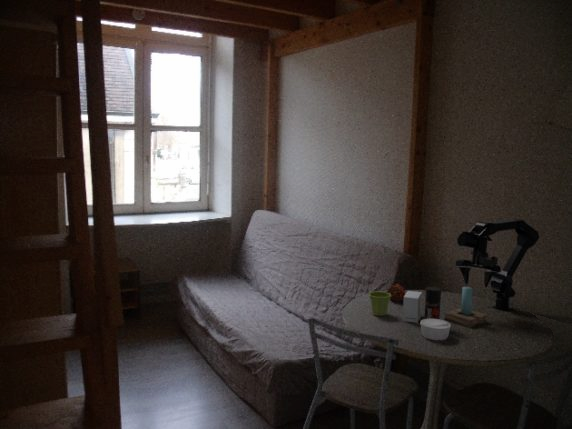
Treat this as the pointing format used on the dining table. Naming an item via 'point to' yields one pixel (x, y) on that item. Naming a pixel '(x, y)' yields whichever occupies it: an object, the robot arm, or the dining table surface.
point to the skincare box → (412, 306)
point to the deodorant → (432, 303)
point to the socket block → (465, 318)
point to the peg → (466, 301)
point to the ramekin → (435, 329)
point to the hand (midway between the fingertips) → (476, 285)
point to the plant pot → (379, 302)
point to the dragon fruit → (396, 292)
